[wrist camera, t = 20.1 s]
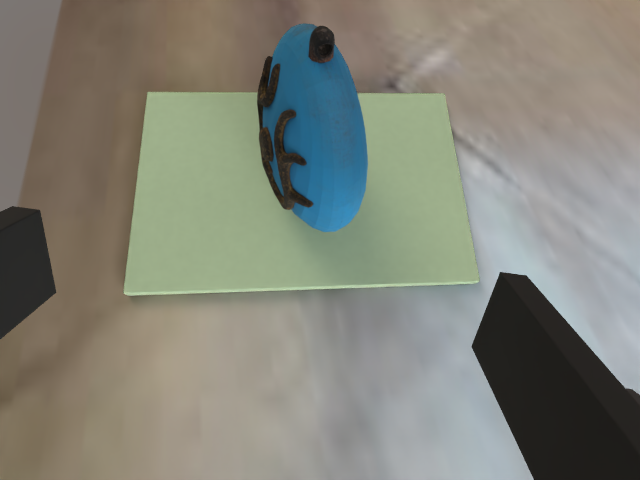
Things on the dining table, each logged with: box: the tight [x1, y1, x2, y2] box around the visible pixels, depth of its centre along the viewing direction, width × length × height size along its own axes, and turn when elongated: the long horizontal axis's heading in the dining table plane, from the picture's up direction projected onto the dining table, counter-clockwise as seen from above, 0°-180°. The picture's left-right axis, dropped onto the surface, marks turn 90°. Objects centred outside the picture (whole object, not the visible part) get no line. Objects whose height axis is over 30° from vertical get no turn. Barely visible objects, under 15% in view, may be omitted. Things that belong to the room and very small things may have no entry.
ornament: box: [257, 24, 368, 232], centre depth 17 cm, size 8×5×10 cm, turn 17°
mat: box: [123, 92, 480, 296], centre depth 22 cm, size 18×12×1 cm, turn 93°
